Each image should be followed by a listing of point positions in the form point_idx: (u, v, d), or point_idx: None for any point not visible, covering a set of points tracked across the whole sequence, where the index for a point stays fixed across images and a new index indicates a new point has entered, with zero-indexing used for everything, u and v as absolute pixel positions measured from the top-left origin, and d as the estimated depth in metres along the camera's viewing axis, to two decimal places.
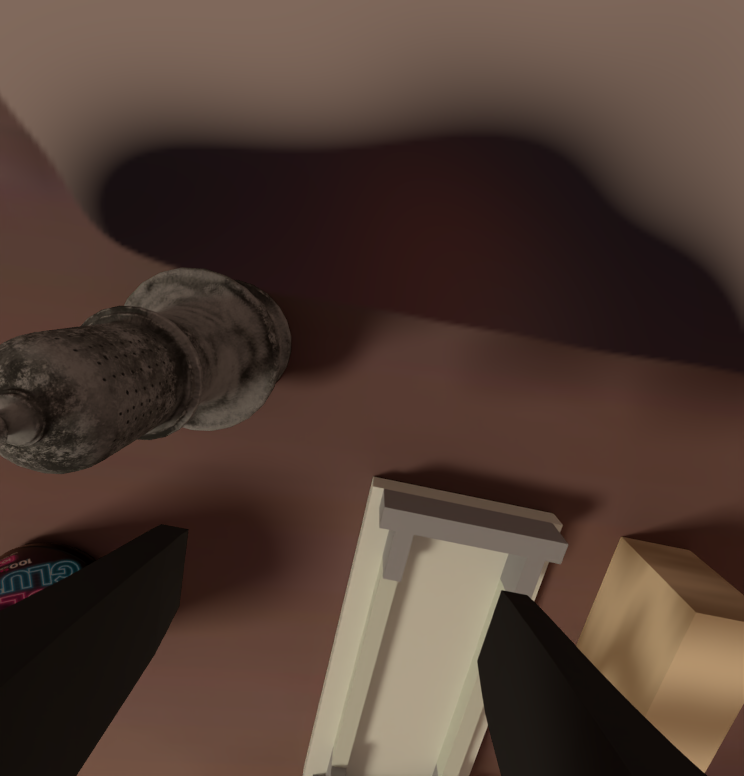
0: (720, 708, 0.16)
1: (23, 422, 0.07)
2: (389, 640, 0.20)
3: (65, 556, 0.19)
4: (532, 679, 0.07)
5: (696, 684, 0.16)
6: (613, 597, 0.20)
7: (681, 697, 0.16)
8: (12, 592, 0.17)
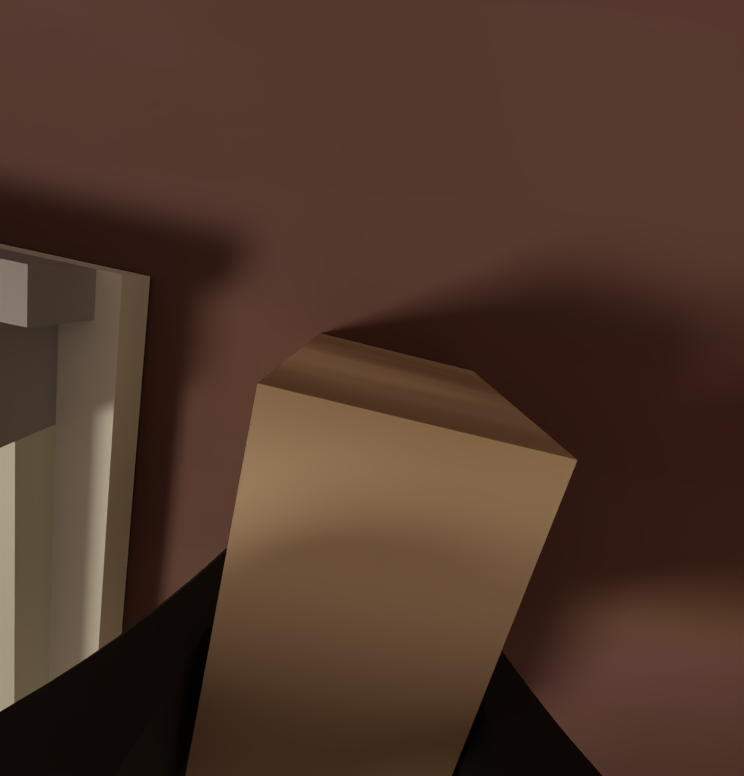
0: (409, 725, 0.05)
1: None
2: None
3: None
4: None
5: (321, 647, 0.05)
6: None
7: (286, 688, 0.05)
8: None
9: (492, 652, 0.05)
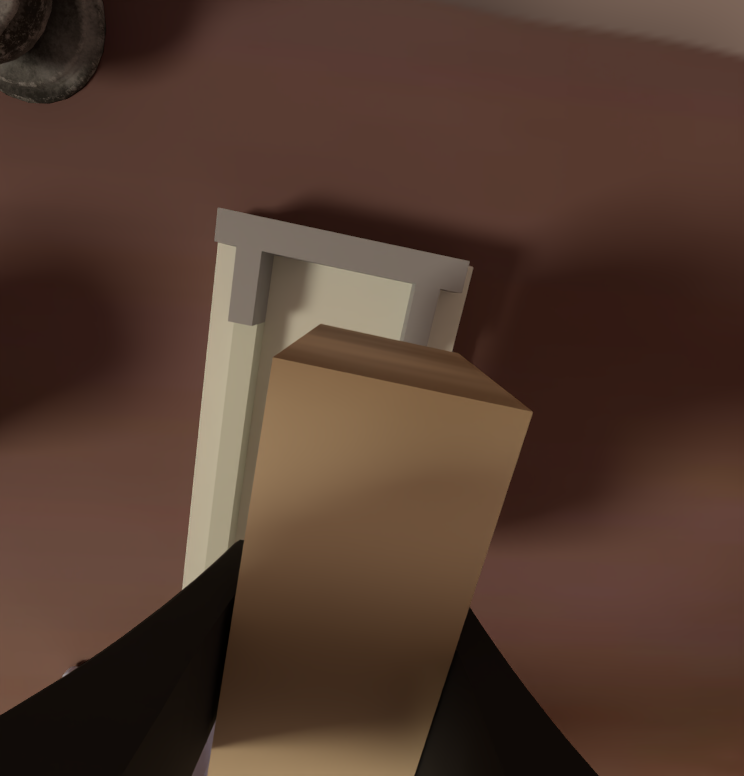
0: (406, 642, 0.06)
1: None
2: None
3: None
4: None
5: (330, 577, 0.06)
6: None
7: (302, 614, 0.06)
8: None
9: (471, 578, 0.06)
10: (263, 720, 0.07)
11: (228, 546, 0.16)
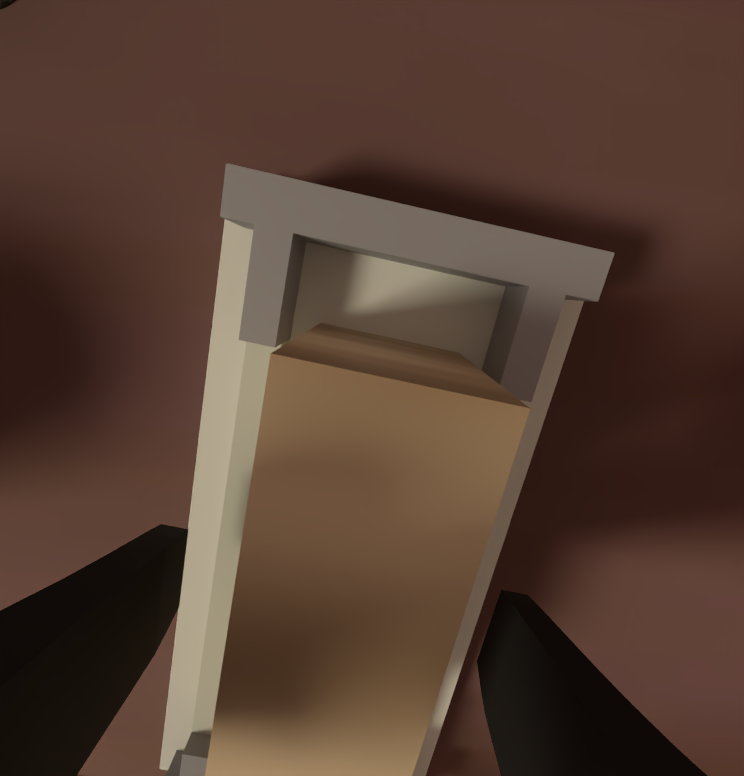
0: (404, 640, 0.06)
1: None
2: None
3: None
4: (532, 680, 0.07)
5: (328, 574, 0.06)
6: None
7: (300, 612, 0.06)
8: None
9: (470, 575, 0.06)
10: (261, 718, 0.07)
11: None
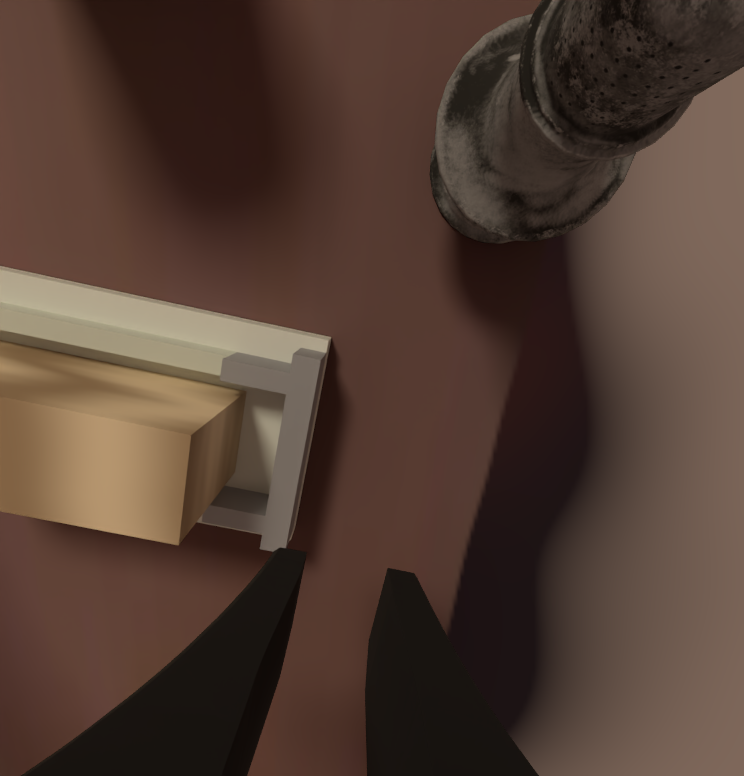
0: (39, 494, 0.12)
1: None
2: (113, 361, 0.16)
3: None
4: (391, 653, 0.07)
5: (74, 457, 0.12)
6: (163, 383, 0.15)
7: (46, 441, 0.11)
8: None
9: (87, 525, 0.12)
10: None
11: None
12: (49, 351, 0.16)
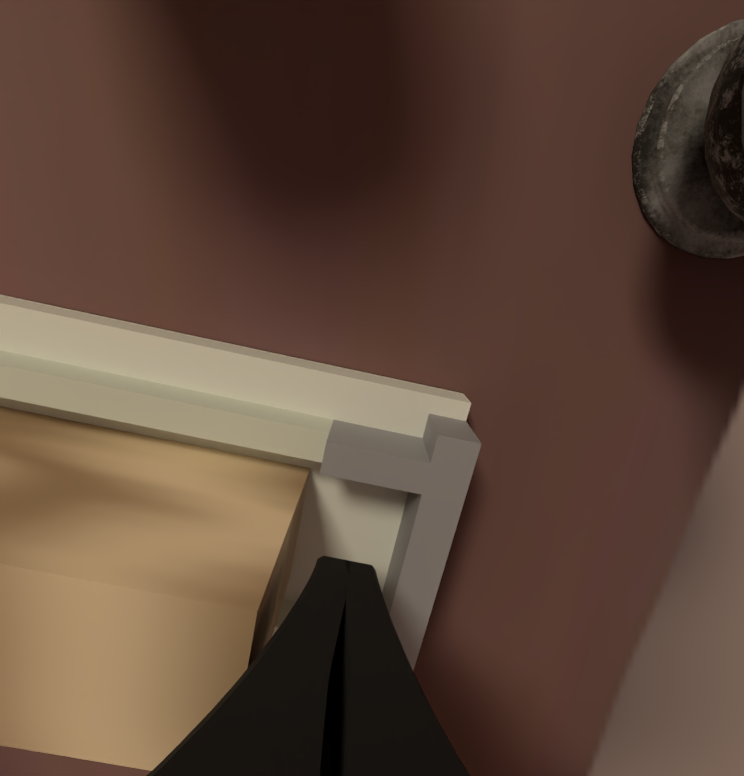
0: None
1: None
2: (148, 433, 0.11)
3: None
4: (338, 644, 0.07)
5: (41, 647, 0.06)
6: (190, 467, 0.10)
7: None
8: None
9: (66, 751, 0.07)
10: None
11: None
12: (17, 412, 0.10)
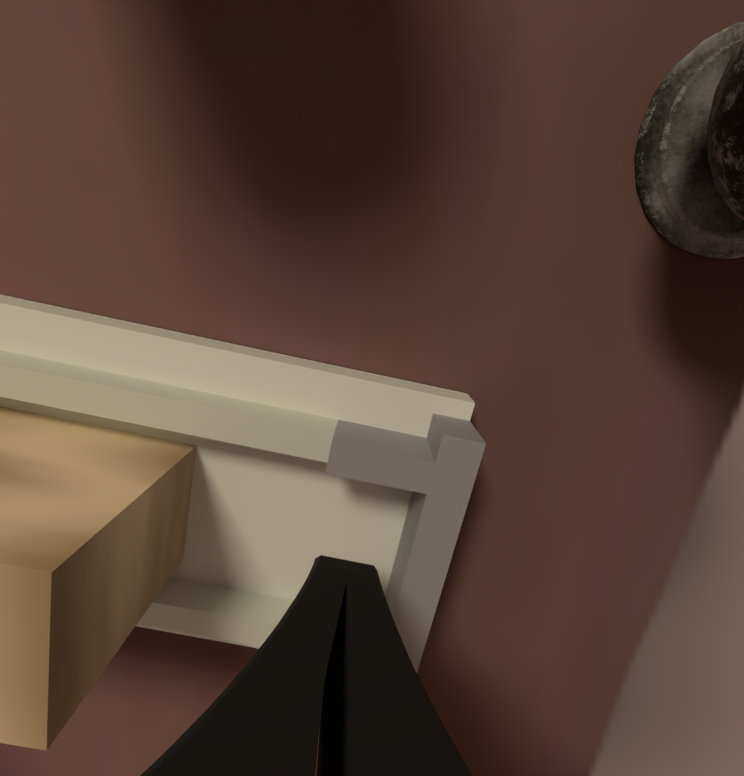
0: None
1: None
2: (154, 433, 0.11)
3: None
4: (341, 644, 0.07)
5: None
6: (61, 441, 0.10)
7: None
8: None
9: None
10: None
11: None
12: None
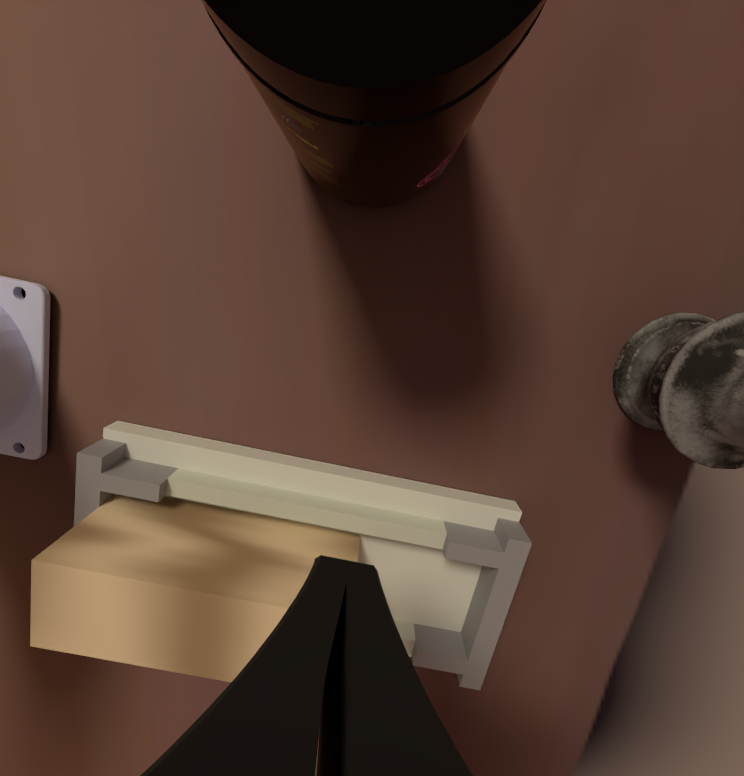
0: (224, 663, 0.14)
1: None
2: (336, 528, 0.19)
3: None
4: (341, 644, 0.07)
5: (256, 635, 0.14)
6: (297, 538, 0.18)
7: (235, 624, 0.14)
8: None
9: None
10: (171, 606, 0.14)
11: (240, 508, 0.18)
12: (193, 504, 0.18)
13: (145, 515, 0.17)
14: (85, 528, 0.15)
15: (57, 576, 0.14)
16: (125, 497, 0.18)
